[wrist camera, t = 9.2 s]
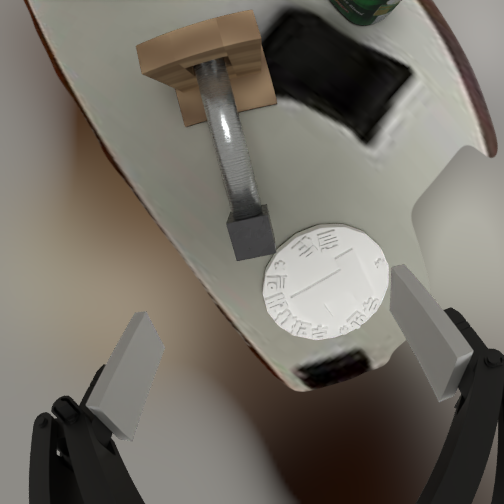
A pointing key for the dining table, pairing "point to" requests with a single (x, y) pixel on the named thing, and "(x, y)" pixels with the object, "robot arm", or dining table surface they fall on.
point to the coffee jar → (365, 10)
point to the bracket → (205, 49)
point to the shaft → (234, 164)
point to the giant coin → (325, 281)
